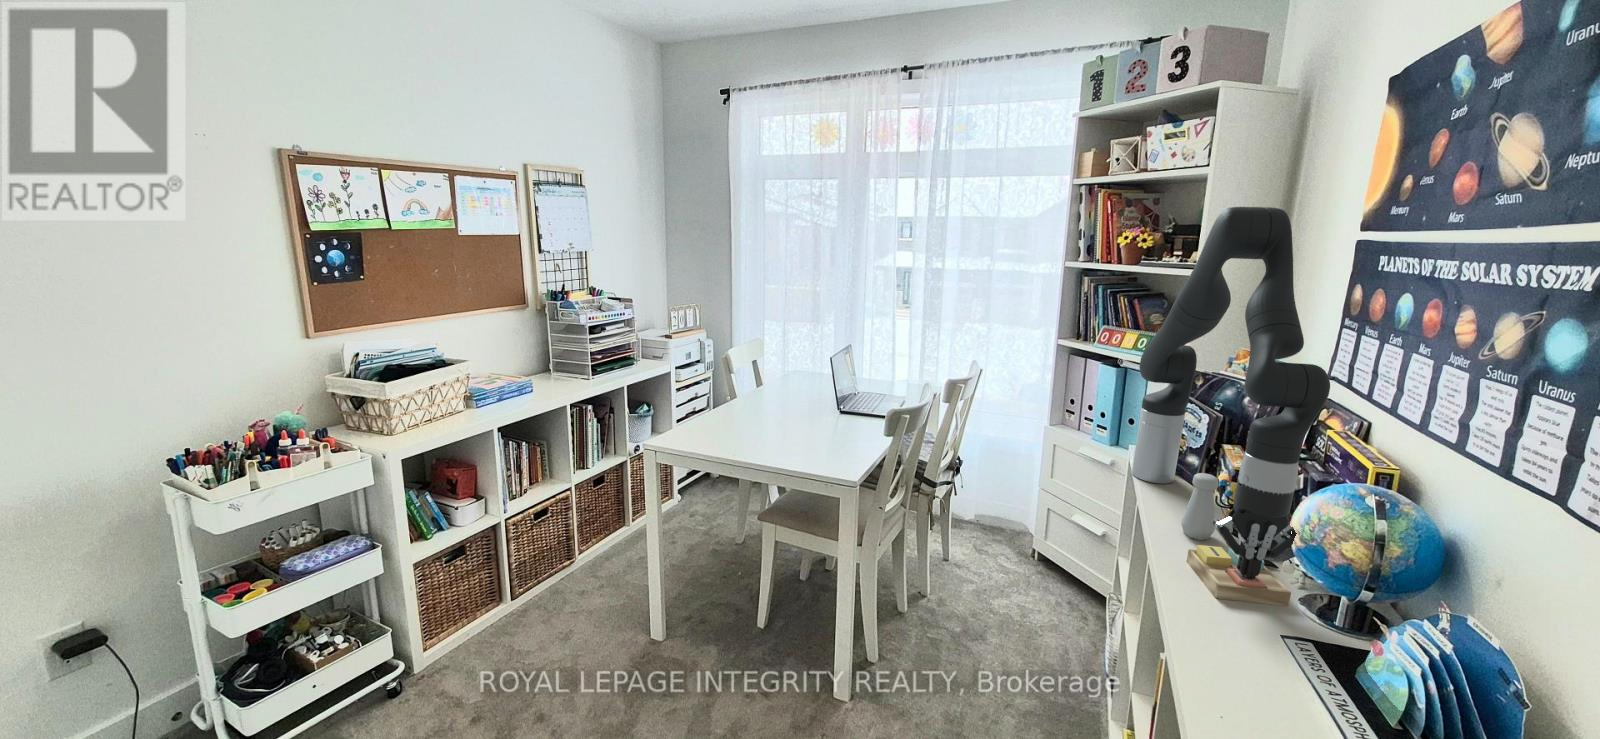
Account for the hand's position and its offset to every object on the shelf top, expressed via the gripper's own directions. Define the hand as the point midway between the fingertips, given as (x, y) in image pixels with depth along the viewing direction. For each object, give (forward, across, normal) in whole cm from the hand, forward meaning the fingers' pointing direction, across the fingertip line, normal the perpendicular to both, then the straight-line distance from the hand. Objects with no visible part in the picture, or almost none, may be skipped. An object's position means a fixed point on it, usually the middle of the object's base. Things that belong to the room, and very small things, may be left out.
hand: (1246, 575), depth 106 cm
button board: (+3, 0, -3) cm, 4 cm away
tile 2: (+2, -3, -6) cm, 7 cm away
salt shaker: (+3, 0, -20) cm, 20 cm away
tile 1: (+2, +3, -6) cm, 7 cm away
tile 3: (+3, 0, 0) cm, 3 cm away
